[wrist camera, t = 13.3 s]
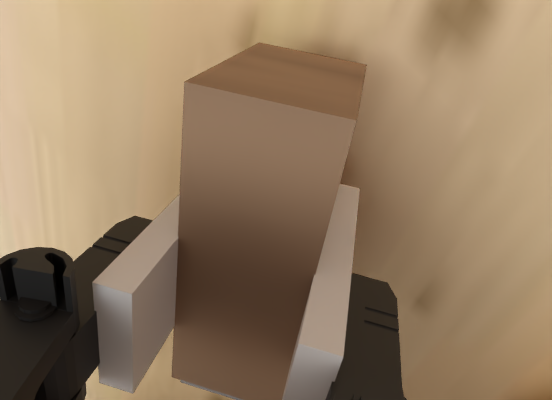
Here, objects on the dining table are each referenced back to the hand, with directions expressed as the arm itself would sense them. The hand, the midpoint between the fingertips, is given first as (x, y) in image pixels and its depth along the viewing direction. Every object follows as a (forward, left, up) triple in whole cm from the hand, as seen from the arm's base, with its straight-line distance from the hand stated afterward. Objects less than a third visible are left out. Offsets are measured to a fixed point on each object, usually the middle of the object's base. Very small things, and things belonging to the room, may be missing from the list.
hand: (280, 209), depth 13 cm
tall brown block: (-3, 0, -1) cm, 3 cm away
